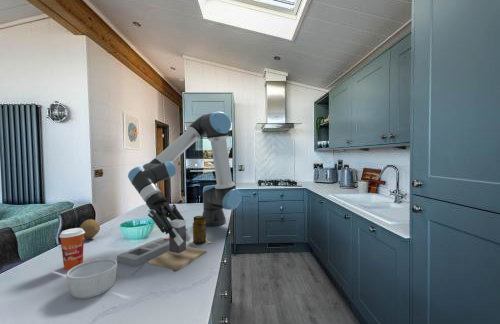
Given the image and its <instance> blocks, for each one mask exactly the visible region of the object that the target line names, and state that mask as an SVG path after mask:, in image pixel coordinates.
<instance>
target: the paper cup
mask: <svg viewBox="0 0 500 324" xmlns="http://www.w3.org/2000/svg"><path fill="white" fill-rule="evenodd" d="M84 233H85V231H84V230H83V229H82V228H80V227H75V228H68V229H65V230H62V231H61V232H60V235H59V239H60V248H61V255H62V263H63V269H64V270H65V271H69V270H70V269H72V268H73V267H75V266H77V265H79V264H82V263H84V241H85V240H84V239H85V238H84Z"/></svg>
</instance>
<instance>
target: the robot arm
mask: <svg viewBox="0 0 500 324" xmlns="http://www.w3.org/2000/svg"><path fill="white" fill-rule="evenodd" d="M231 127H232V122H231V119H230V117H229V116H228V114H226V113H225V112H224V111H223V112H222V111H215V112H210V113H207V114H203V115H200V116H199V117H197V119H195V121H193V122H192V123H191V124H189V126H187V128H186V130H185V132H183V133H182V134H181V135H180V136H178V137H177V138H176V139H175V140H174V141H172V142H171V143H170V144H169V145H168V146H167V147H166V148H165V149H164V150H162V151H161V152H160V153H159V154H158V155H156V156H155V157H154V158H153V159H152V160H150V162H147V163H144V164H143V165H142V166H135V167H134V168H131V170H130V171H128V174H127V177H128V179H129V181H130V183H131V185H132V186H133V187H134V189H135V190H136V192H137V193H138V194H139V195H140V197H141V198H142V200H143V202H144V203H145V205H146V206H147V207H148V208H149V210H150V211H149V212H148V214H147V216H148V217H149V218H151V220H152V221H153V222H154V224H155V225H156V226H157V228H158V229H159V230H160V232H161V233H163V234H164V233H165V235H168V236H169V235H170V236H171V238H172V239H174V240H175V242H176V243H177V245H178V246H180V245H181V244H182V243H183V240H182V238H181V237H180V235H179V234H178V233H177V231H176V230H175V229H174V228H173V229H172V227H171V225H170V223H169V221H172V220H175V219H179V220H185V218H184V217H183V216H182V214H181V213H180V211H179V210H178V208H177V206H176V204H172V205H170V204H169V203H168V202H167V198H166V196H165V195H164V194H163V193H162V191H161V190H160V188H159V187H158V185H157V184H159V183H161V182H163V181H165V180H168V179H171V178H172V177H174V176H176V174H177V168H176V165H175V164H174V161H176V160H177V159H178V158H179V157H180V156H181V155H182V154H183V153H185V152H186V150H187V149H189V148H190V147H191V146H192V145H193V144H194V143H195V142H197V141H200V140H202V139H203V138H204V137H206V139H207V140H208V141H210V146H211V152H212V160H213V167H214V173H215V181H216V184H212V185H204V186H203V188H202V205H203V206H202V207H203V208H202V209H203V211H202V214H201V216H204V217H205V222H206V227H216V226H217V227H218V226H221V225H224V224H226V222H227V220H226V219H227V217H226V215H225V213H224V210H226V211H227V210H235V209H237V208H238V206H239V205H240V203H241V201H242V195H241V192H240V191H239V190H238V189H237V187H236V183H235V182H234V181H233V178H232V171H231V164H230V156H229V151H228V143H227V142H228V141H227V139H228V137H229V131H230V130H231ZM191 238H192V239H193V236H191V234H190V233H189V232H188V229H187V228H186V243H188V242H190V241H191Z"/></svg>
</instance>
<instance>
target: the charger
mask: <svg viewBox="0 0 500 324" xmlns="http://www.w3.org/2000/svg"><path fill="white" fill-rule="evenodd" d="M168 221H169V223H170V225H171V227H172V229H173V228H174V229H175V230H176V231H177V233H178V234H179V235H180V237H181V238H182V240H183V243H182V244H181V245H180V246H178V245H177V243H176V242H175V240H174V239H172V238H171V236H170V235H169V234H168V236H169V237H168V238H169V245H170V250H169V251H170V252H175V253H181V252H183V251H185V250H186V246H187V242H186V229H187V226H186V225H187V224H186V222H187V221H186V220H185V219H184V220H179V219H175V220H172V221H171V220H168Z"/></svg>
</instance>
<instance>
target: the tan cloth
mask: <svg viewBox="0 0 500 324" xmlns="http://www.w3.org/2000/svg"><path fill="white" fill-rule="evenodd" d="M206 253H207V249H203V248H197V247H192V246H187V245H186V250H185V251H183V252H181V253H175V252H170V250H168V251H166V252H164V253H162V254H160V255H158V256H156V257H154V258H152V259H150V260H148V261H147V264H149V265H153V266H158V267H163V268H167V269H170V270H172V271H173V272H177V271H179V270H180V269H182V268H183V267H185V266H188V265H189V264H190V263H191V262H193V261H195V260H196V259H198V258H200V257H201V256H202V255H204V254H206Z"/></svg>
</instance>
